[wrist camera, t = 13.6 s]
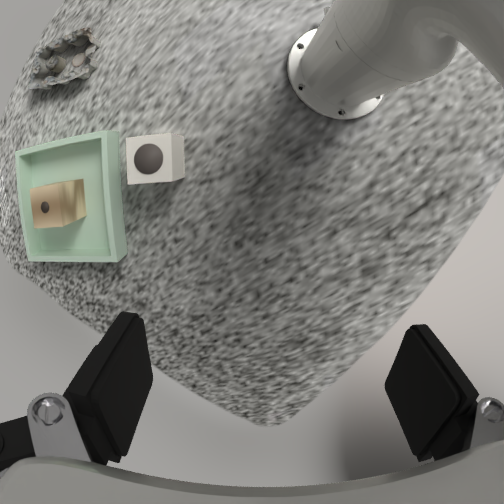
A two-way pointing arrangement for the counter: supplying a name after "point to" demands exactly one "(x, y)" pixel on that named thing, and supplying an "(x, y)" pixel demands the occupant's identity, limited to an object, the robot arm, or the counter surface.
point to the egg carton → (63, 60)
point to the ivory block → (155, 158)
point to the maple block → (58, 203)
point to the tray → (96, 198)
